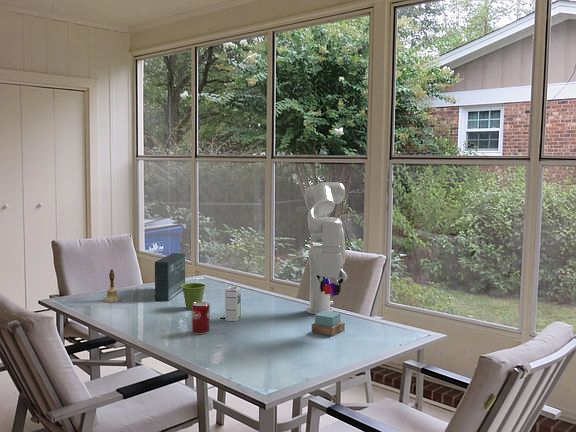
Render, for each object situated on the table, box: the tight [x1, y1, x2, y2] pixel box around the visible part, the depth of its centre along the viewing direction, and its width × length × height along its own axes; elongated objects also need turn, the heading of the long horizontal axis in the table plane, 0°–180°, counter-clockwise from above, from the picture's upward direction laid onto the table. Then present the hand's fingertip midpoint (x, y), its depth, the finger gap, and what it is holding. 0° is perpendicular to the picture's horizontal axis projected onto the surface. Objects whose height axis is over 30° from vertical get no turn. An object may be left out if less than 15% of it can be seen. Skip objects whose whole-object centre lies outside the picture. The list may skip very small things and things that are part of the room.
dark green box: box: [154, 252, 186, 302], centre depth 311 cm, size 29×7×20 cm, turn 173°
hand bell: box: [103, 269, 122, 303], centre depth 297 cm, size 8×8×16 cm
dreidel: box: [323, 278, 340, 297], centre depth 245 cm, size 4×4×8 cm
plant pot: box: [181, 282, 207, 311], centre depth 283 cm, size 12×12×11 cm
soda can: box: [191, 301, 211, 335], centre depth 244 cm, size 7×7×12 cm
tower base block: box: [311, 321, 346, 338], centre depth 247 cm, size 10×10×4 cm
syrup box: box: [224, 286, 242, 322], centre depth 264 cm, size 6×6×14 cm
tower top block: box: [314, 311, 341, 327], centre depth 246 cm, size 8×8×4 cm
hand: (330, 292), depth 245 cm, fingers closed on dreidel, 6 cm apart
